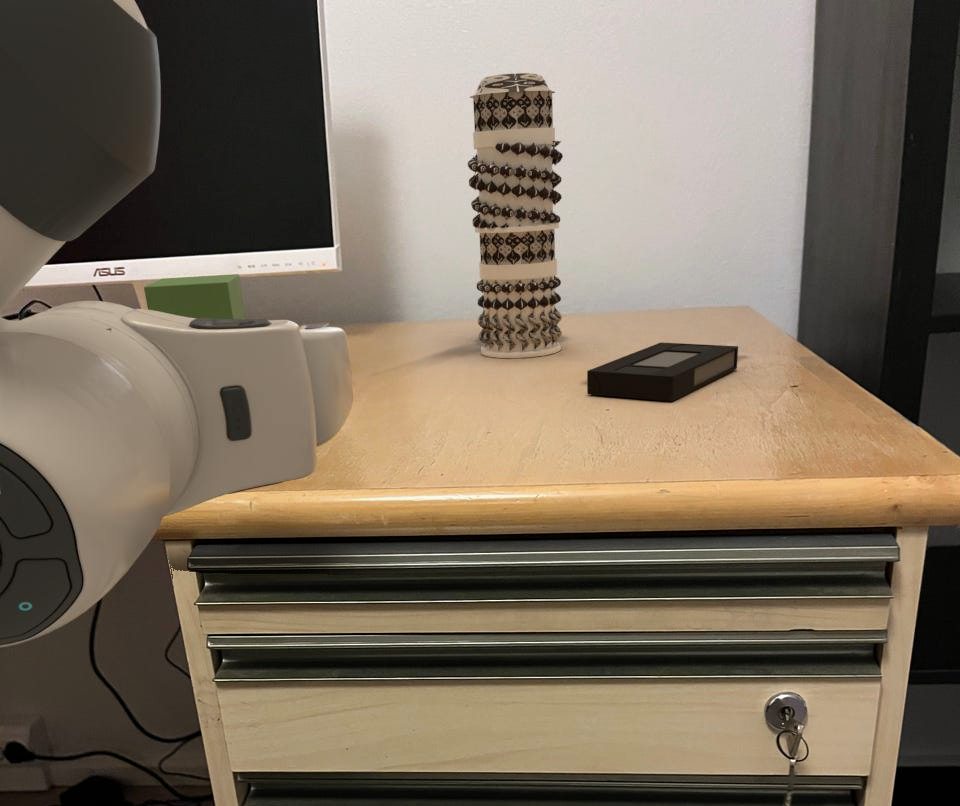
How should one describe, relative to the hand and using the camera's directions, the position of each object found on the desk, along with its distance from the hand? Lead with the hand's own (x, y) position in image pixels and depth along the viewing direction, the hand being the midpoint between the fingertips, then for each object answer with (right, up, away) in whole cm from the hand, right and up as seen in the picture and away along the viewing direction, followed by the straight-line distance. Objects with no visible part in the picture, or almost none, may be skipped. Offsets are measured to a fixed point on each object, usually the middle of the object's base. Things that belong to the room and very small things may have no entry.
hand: (167, 360), depth 53 cm
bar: (-1, -3, +14) cm, 14 cm away
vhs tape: (+33, +7, +32) cm, 46 cm away
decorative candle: (+21, +15, +50) cm, 56 cm away
